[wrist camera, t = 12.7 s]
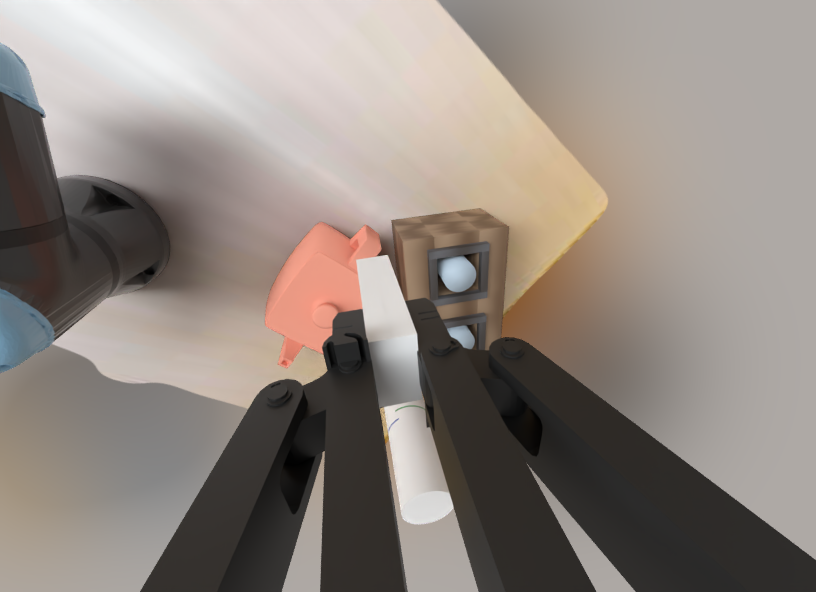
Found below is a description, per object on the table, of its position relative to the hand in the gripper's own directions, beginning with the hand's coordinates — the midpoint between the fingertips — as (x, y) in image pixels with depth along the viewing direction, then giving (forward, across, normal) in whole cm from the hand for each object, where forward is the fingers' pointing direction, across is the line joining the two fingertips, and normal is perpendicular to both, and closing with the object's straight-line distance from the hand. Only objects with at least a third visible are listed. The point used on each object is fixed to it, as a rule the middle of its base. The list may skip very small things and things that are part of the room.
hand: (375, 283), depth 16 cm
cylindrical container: (+35, +3, -38) cm, 51 cm away
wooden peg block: (+34, +12, -18) cm, 41 cm away
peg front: (+32, +12, -12) cm, 37 cm away
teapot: (+35, -6, -14) cm, 38 cm away
